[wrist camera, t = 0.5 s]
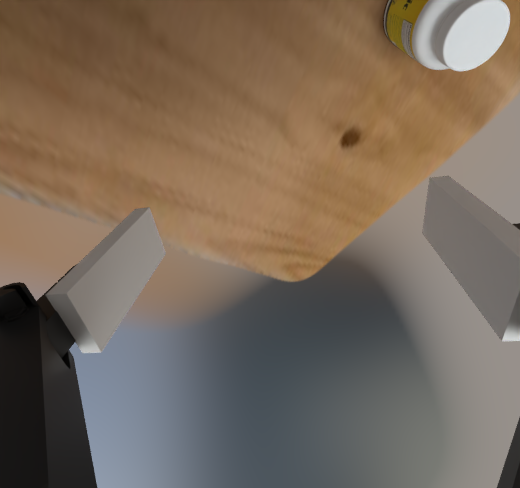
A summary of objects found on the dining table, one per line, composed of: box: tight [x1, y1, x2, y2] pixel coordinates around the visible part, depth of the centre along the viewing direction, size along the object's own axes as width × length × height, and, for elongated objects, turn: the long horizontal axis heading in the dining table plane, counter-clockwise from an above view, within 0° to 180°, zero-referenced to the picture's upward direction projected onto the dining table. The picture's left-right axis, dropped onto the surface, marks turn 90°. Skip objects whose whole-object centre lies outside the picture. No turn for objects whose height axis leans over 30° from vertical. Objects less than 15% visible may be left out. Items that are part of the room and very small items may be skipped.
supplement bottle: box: [384, 0, 510, 71], centre depth 23 cm, size 5×5×10 cm
